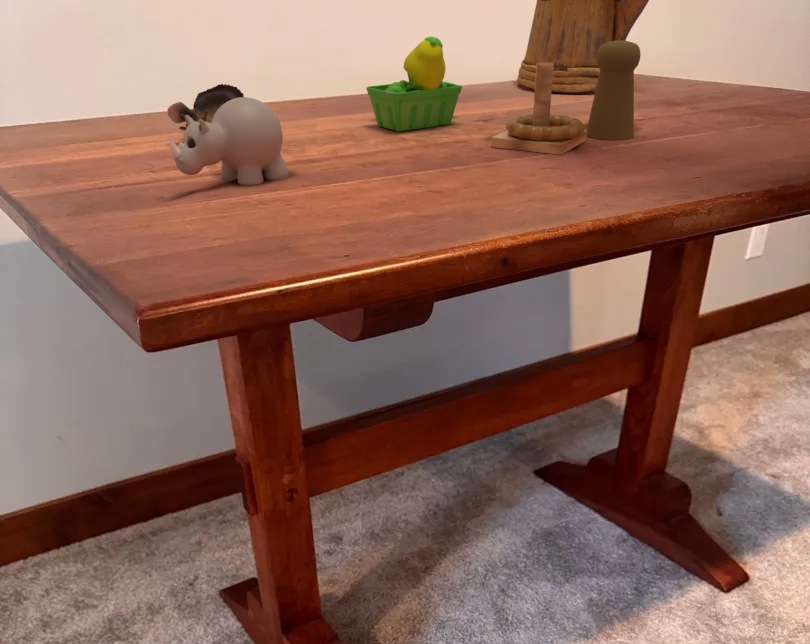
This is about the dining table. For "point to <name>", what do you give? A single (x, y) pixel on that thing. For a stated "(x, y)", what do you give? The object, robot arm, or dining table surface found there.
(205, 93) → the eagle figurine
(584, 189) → the dining table surface
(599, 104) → the cork
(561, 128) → the ring
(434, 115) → the fruit basket
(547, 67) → the post
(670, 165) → the dining table surface
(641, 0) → the tankard
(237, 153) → the toy rhinoceros
